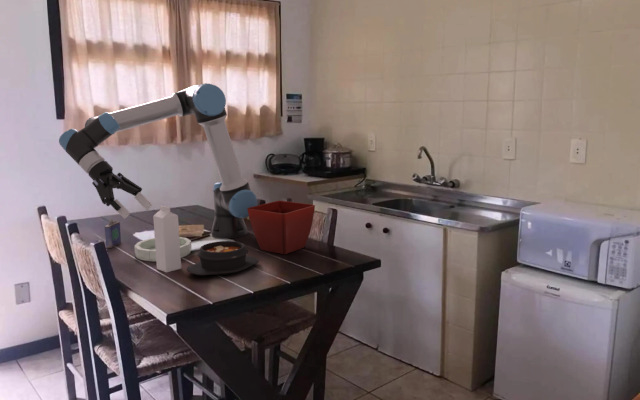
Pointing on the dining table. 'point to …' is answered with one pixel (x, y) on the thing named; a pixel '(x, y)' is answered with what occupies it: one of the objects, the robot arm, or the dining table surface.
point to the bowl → (148, 251)
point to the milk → (167, 240)
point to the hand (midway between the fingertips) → (139, 211)
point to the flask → (112, 234)
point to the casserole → (222, 259)
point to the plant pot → (281, 225)
